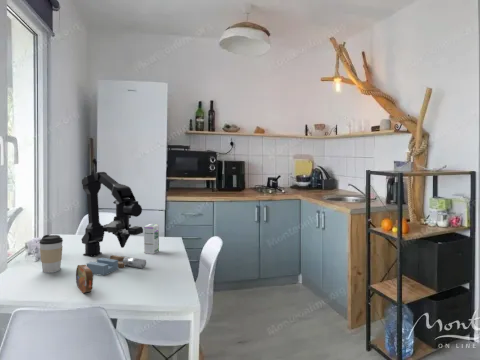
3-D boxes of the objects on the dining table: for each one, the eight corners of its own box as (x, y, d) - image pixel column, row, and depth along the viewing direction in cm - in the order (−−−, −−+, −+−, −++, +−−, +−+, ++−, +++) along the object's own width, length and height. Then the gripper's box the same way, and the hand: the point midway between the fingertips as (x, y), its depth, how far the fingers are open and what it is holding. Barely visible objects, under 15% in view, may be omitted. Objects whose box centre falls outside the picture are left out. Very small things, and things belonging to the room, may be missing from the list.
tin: (75, 283, 134) (75, 262, 134) (83, 281, 136) (83, 261, 136) (85, 296, 123) (85, 273, 122) (94, 294, 124) (94, 271, 124)
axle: (122, 267, 156) (122, 258, 156) (128, 263, 160) (127, 255, 159) (141, 270, 153) (140, 261, 152) (146, 266, 157) (145, 258, 156)
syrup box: (154, 254, 176) (154, 226, 175) (143, 253, 177) (143, 225, 176) (159, 251, 182) (159, 224, 181) (148, 250, 183) (148, 223, 182)
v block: (86, 272, 147) (86, 263, 146) (101, 266, 155) (101, 257, 155) (103, 275, 144) (103, 266, 143) (118, 269, 152) (118, 260, 152)
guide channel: (98, 264, 158) (98, 260, 157) (112, 259, 166) (112, 255, 166) (122, 268, 153) (122, 263, 153) (134, 262, 162) (134, 258, 162)
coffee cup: (68, 268, 152) (67, 234, 151) (50, 274, 143) (50, 239, 142) (52, 265, 155) (52, 232, 154) (34, 271, 146) (33, 237, 145)
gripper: (93, 215, 152) (93, 249, 154) (128, 218, 146) (128, 254, 147) (110, 211, 163) (110, 243, 164) (143, 214, 157) (143, 248, 158)
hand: (122, 247), depth 158 cm, fingers closed
